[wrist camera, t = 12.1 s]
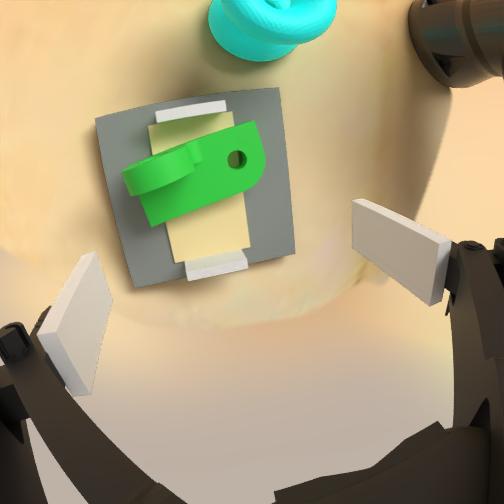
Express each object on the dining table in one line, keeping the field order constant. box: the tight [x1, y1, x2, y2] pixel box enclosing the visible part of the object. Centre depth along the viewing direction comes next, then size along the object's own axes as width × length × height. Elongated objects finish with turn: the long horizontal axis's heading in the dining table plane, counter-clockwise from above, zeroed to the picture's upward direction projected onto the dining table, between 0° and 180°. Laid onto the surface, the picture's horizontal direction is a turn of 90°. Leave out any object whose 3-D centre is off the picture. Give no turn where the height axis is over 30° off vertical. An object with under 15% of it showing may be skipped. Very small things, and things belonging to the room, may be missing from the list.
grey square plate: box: [95, 88, 295, 288], centre depth 30 cm, size 18×18×5 cm
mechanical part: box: [121, 120, 265, 227], centre depth 26 cm, size 12×6×8 cm, turn 108°
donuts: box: [208, 0, 337, 62], centre depth 22 cm, size 10×10×10 cm
